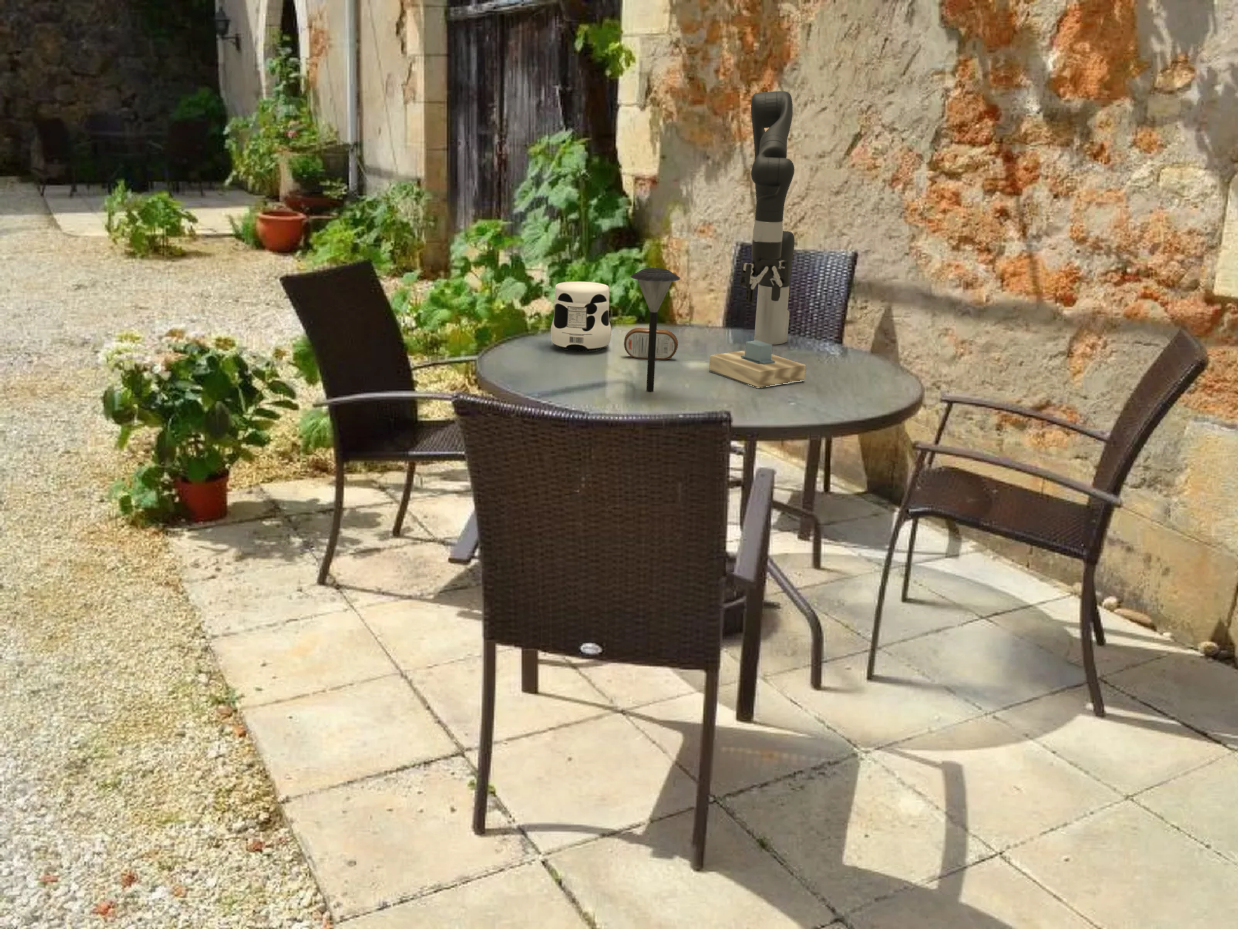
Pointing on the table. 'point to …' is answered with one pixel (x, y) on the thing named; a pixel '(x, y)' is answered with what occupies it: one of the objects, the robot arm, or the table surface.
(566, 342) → the milk container
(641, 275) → the solar garden light
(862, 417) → the table surface
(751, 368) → the block
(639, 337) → the tin
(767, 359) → the grey-blue stepped block
